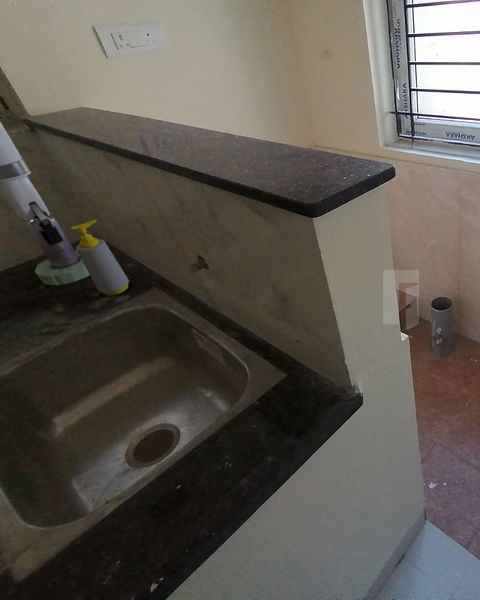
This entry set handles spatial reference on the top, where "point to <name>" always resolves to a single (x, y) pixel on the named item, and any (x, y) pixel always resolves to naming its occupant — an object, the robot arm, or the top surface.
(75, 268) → the socket pad
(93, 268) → the soap bottle
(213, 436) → the top surface
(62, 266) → the beverage can
